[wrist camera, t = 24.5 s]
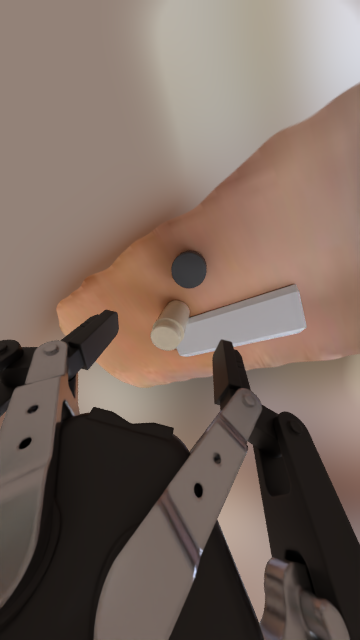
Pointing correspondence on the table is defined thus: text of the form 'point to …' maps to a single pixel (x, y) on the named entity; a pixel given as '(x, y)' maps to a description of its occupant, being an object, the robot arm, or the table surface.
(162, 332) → the coffee jar
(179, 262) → the jar lid
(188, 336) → the crown molding
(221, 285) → the table surface
